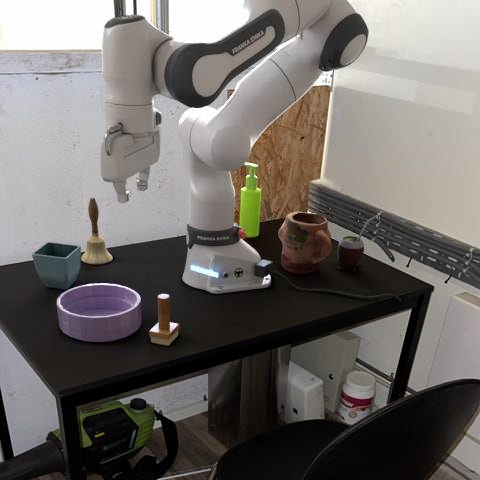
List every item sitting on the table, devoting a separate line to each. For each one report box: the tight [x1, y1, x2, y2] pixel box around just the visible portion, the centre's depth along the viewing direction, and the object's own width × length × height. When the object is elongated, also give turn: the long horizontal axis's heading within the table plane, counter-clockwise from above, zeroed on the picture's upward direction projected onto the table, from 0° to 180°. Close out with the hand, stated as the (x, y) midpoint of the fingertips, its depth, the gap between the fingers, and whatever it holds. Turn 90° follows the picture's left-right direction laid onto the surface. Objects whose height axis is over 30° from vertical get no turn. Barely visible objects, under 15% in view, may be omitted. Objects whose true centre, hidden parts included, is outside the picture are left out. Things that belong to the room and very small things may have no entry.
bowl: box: [56, 283, 143, 343], centre depth 138 cm, size 17×17×6 cm
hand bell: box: [81, 197, 113, 265], centre depth 167 cm, size 8×8×16 cm
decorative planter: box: [277, 211, 333, 275], centre depth 167 cm, size 20×12×14 cm, turn 36°
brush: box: [148, 293, 180, 346], centre depth 133 cm, size 6×4×10 cm
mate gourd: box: [336, 214, 379, 273], centre depth 169 cm, size 8×8×15 cm
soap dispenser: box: [239, 162, 262, 238], centre depth 188 cm, size 6×7×20 cm
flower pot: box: [31, 241, 82, 290], centre depth 154 cm, size 9×9×9 cm
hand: (133, 195), depth 126 cm, fingers open, 8 cm apart
